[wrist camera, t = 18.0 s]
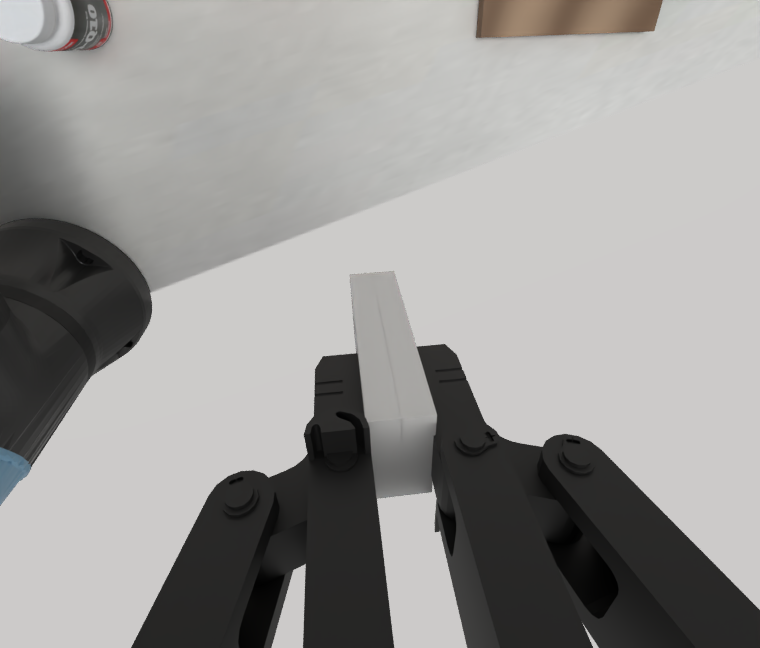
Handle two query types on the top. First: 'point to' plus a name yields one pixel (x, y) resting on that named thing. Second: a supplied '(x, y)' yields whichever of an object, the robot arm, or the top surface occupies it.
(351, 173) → the top surface
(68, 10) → the pill bottle
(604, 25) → the board
